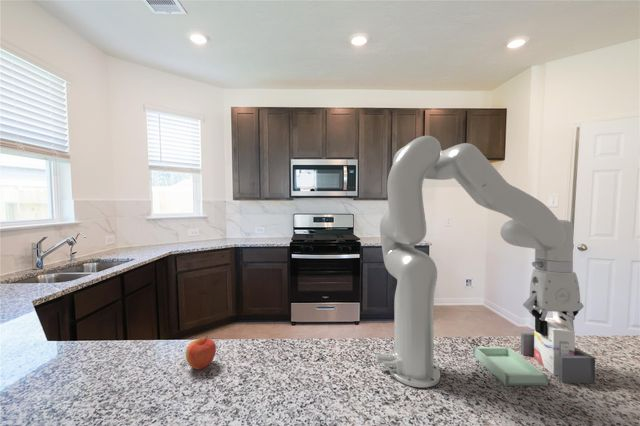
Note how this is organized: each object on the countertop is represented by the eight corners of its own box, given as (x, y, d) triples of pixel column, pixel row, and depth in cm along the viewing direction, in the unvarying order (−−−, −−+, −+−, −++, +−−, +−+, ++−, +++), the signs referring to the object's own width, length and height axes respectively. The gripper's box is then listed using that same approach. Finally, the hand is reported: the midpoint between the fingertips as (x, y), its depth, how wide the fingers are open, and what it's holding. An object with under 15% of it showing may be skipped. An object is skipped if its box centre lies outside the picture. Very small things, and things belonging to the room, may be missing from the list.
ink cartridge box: (532, 356, 75) (532, 305, 75) (552, 358, 74) (553, 306, 74) (552, 375, 66) (553, 317, 66) (575, 377, 65) (576, 319, 65)
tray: (505, 385, 63) (505, 375, 62) (473, 355, 76) (473, 347, 75) (547, 385, 63) (547, 375, 63) (507, 355, 76) (507, 346, 76)
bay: (562, 382, 64) (562, 358, 64) (520, 353, 77) (520, 333, 77) (595, 382, 64) (595, 357, 64) (548, 353, 77) (548, 332, 77)
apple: (183, 365, 71) (182, 336, 71) (211, 356, 76) (211, 328, 76) (189, 379, 65) (189, 347, 65) (219, 368, 70) (219, 338, 70)
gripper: (532, 269, 66) (532, 340, 66) (600, 269, 66) (600, 340, 66) (510, 263, 74) (510, 327, 74) (571, 263, 74) (571, 327, 74)
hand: (553, 332), depth 70 cm, fingers closed on ink cartridge box, 5 cm apart
